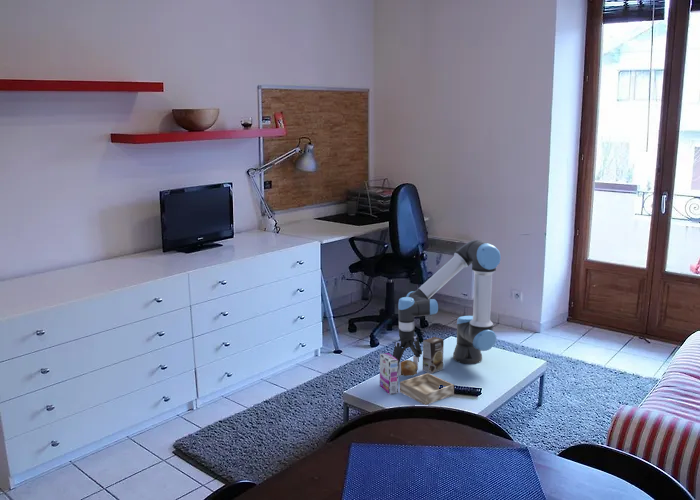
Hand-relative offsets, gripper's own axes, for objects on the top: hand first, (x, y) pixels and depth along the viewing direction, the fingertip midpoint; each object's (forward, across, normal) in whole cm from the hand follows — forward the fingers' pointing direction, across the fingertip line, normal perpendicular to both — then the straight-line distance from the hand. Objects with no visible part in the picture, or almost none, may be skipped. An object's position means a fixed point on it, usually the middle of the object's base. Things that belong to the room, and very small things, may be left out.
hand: (407, 371), depth 304 cm
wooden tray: (+3, +6, +20) cm, 21 cm away
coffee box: (+3, -16, +1) cm, 17 cm away
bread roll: (+1, 0, 0) cm, 1 cm away
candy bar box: (+3, +16, +6) cm, 18 cm away
